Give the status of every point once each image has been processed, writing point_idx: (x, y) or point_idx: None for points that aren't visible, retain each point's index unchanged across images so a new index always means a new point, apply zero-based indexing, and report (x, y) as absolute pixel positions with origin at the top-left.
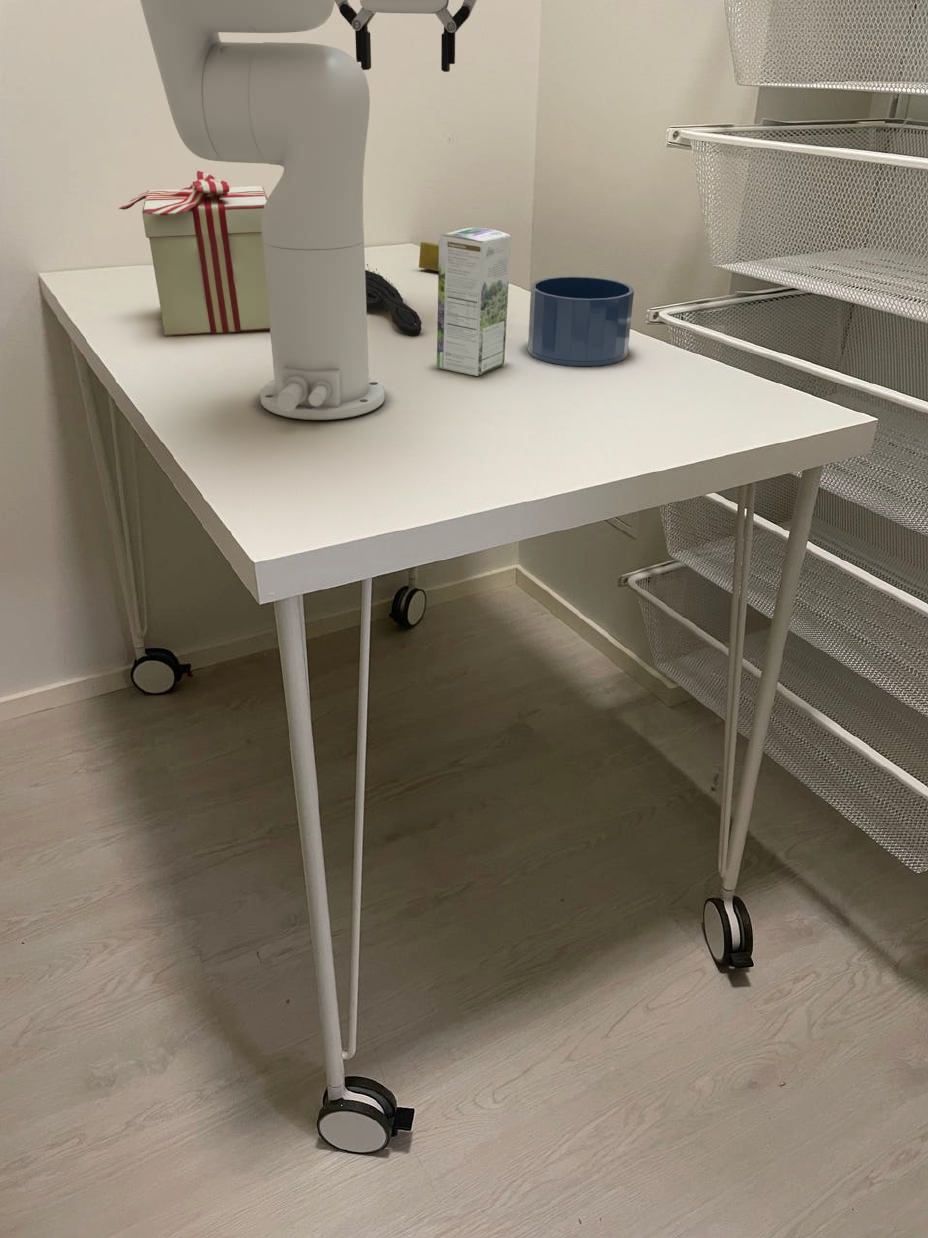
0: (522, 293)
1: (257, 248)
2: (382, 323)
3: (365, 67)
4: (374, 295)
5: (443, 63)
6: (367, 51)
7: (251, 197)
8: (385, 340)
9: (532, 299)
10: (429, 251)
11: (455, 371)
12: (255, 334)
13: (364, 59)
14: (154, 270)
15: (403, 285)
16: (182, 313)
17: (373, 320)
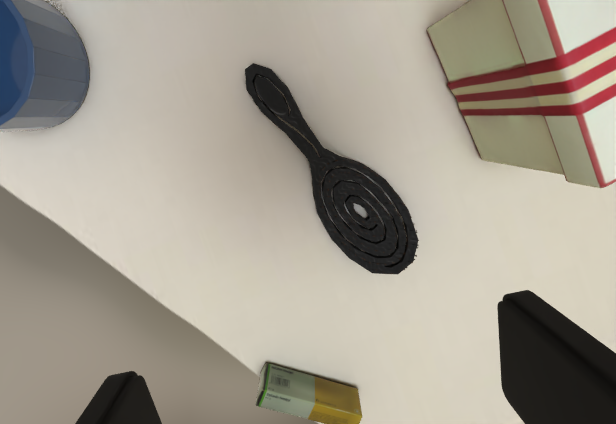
0: (193, 323)
1: None
2: (312, 116)
3: (507, 299)
4: (358, 216)
5: (113, 387)
6: (547, 365)
7: (588, 31)
8: (278, 33)
9: (26, 10)
10: (345, 402)
11: None
12: (451, 2)
13: (532, 309)
14: None
15: (351, 310)
16: None
17: (328, 127)
